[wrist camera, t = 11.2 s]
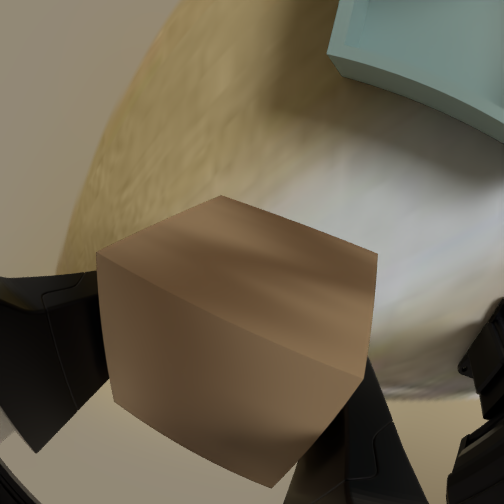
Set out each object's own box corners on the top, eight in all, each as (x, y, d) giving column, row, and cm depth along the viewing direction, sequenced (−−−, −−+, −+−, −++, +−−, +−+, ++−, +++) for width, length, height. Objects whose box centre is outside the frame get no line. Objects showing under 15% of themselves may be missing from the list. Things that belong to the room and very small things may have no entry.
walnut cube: (377, 253, 8) (363, 379, 4) (319, 372, 10) (271, 488, 6) (220, 195, 9) (96, 252, 5) (199, 318, 12) (114, 401, 8)
